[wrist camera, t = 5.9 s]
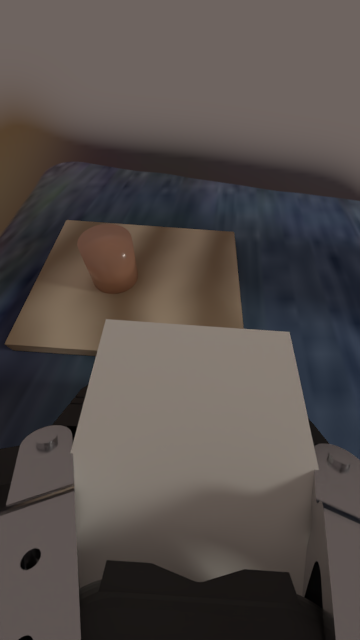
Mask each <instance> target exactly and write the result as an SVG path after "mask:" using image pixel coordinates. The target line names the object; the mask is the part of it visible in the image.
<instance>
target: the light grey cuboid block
mask: <svg viewBox="0 0 360 640" xmlns="http://www.w3.org/2000/svg"><path fill="white" fill-rule="evenodd" d="M70 453H73V462H74V483H75V505H76V525H77V545H78V566H79V587H80V588H81V587H83V586H85V585H88V584H90V583H92V582H95V581H98V580H101V579H102V576H103V572H104V568H105V564H106V561H107V560H113V561H128V562H143V563H153V564H155V565H157V566H160V567H162V568H164V569H167V570H169V571H171V572H174V573H176V574H179V575H181V576H183V577H186V578H188V579H190V580H193V581H196V582H204V581H207V580H211V579H214V578H217V577H220V576H224V575H227V574H230V573H234V572H237V571H240V570H243V569H248V570H263V571H278V572H289V574H290V577H291V579H292V582H293V585H294V588H295V591H296V594H298V595H301V596H302V592H303V582H304V571H305V561H306V550H307V544H308V540H309V537H310V531H311V521H312V511H311V497H312V486H313V476H314V470H319V468H318V463H317V458H316V454H315V449H314V444H313V440H312V435H311V430H310V426H309V421H308V416H307V412H306V407H305V402H304V398H303V393H302V388H301V384H300V379H299V374H298V370H297V365H296V360H295V356H294V351H293V346H292V342H291V337H290V332H281V331H267V330H253V329H239V328H224V327H210V326H196V325H182V324H168V323H154V322H140V321H125V320H111V319H106V321H105V324H104V328H103V332H102V336H101V339H100V343H99V347H98V351H97V354H96V358H95V362H94V366H93V370H92V373H91V377H90V381H89V385H88V388H87V392H86V396H85V400H84V403H83V407H82V411H81V415H80V419H79V422H78V426H77V430H76V434H75V437H74V441H73V445H72V449H71V452H70Z"/></svg>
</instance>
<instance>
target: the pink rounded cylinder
mask: <svg viewBox="0 0 360 640" xmlns="http://www.w3.org/2000/svg"><path fill="white" fill-rule="evenodd" d="M77 246H78V249H79V252H80V254H81V256H82V258H83V261H84V263H85V265H86V268H87V270H88V272H89V274H90V277H91V279H92V281H93V284H94V285H95V287H96V288H97V289H98V290H100V291H102V292H104V293H108V294H118V293H122V292H125V291H127V290H129V289H130V288H131V287H133V286H134V284H135V283H136V281H137V279H138V271H137V265H136V259H135V253H134V247H133V242H132V236H131V234H130V233H129V231H128V230H127V229H125V228H124V227H122V226H119V225H115V224H100V225H96V226H93V227H91V228H89V229H87V230H86V231H84V232H83V233H82V234H81V236H80V237H79V239H78V242H77Z"/></svg>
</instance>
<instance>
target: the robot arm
mask: <svg viewBox="0 0 360 640" xmlns="http://www.w3.org/2000/svg"><path fill="white" fill-rule="evenodd" d="M87 388H88V385H87V386H86V387H84V388H82V389H81V390H80V392H79V393H78V394H77V395H76V397H75V398H74V399H73V400H72V401H71V403H70V404H69V405H68V406H67V408H66V409H65V410H64V411H63V413H62V414H61V415H60V416H59V418H58V419H57V420H56V421H55V422H54V424H53V425H52V426H47V427H44V428H41V429H39V430H36V431H34V432H33V433H31V434H30V435H28V436H27V437H26V438H25V439H24V440H23V441H22V443H21V445H20V446H16V447H10V448H4V449H0V640H360V460H358V459H357V458H356V457H355V456H354V455H352V454H351V453H349V452H348V451H346V450H344V449H342V448H340V447H337V446H335V445H331V444H329V443H328V442H327V440H326V439H325V438H324V437H323V436H322V434H321V433H320V432H319V431H318V429H317V428H316V427H315V426H314V424H313V423H312V422H311V421H310V419H309V418H308V421H309V426H310V430H311V435H312V440H313V444H314V449H315V454H316V458H317V463H318V468H319V470H314V476H313V486H312V497H311V511H312V521H311V531H310V537H309V540H308V544H307V550H306V561H305V571H304V582H303V592H302V596H301V595H298V594H296V591H295V588H294V585H293V582H292V579H291V577H290V574H289V572H278V571H263V570H248V569H243V570H240V571H237V572H234V573H230V574H227V575H224V576H220V577H217V578H214V579H211V580H207V581H204V582H196V581H193V580H190V579H188V578H186V577H183V576H181V575H179V574H176V573H174V572H171V571H169V570H167V569H164V568H162V567H160V566H157V565H155V564H153V563H143V562H128V561H113V560H107V561H106V564H105V568H104V572H103V576H102V579H101V580H98V581H95V582H92V583H90V584H88V585H85V586H83V587H81V588H80V587H79V566H78V545H77V525H76V505H75V483H74V462H73V453H70V452H71V449H72V445H73V441H74V437H75V434H76V430H77V426H78V422H79V419H80V415H81V411H82V407H83V403H84V400H85V396H86V392H87Z"/></svg>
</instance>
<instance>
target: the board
mask: <svg viewBox="0 0 360 640" xmlns="http://www.w3.org/2000/svg"><path fill="white" fill-rule="evenodd" d="M100 224H115V223H101V222H87V221H73V220H66V222H65V224H64V226H63V228H62V230H61V232H60V234H59V236H58V238H57V240H56V242H55V244H54V246H53V248H52V250H51V252H50V254H49V256H48V258H47V260H46V262H45V264H44V266H43V268H42V270H41V272H40V274H39V276H38V278H37V280H36V282H35V284H34V286H33V288H32V290H31V292H30V294H29V296H28V298H27V300H26V302H25V304H24V306H23V308H22V310H21V312H20V314H19V316H18V318H17V320H16V322H15V324H14V326H13V328H12V330H11V332H10V334H9V336H8V338H7V340H6V342H5V345H6V346H8V347H9V348H11V349H12V350H16V351H31V352H45V353H60V354H74V355H88V356H96V354H97V351H98V347H99V343H100V339H101V336H102V332H103V328H104V324H105V321H106V319H111V320H125V321H140V322H154V323H168V324H182V325H196V326H210V327H224V328H239V329H243V319H242V308H241V298H240V288H239V277H238V267H237V257H236V247H235V236H234V232H227V231H213V230H199V229H185V228H171V227H157V226H143V225H129V224H115V225H119V226H122V227H124V228H125V229H127V230H128V231H129V233H130V234H131V236H132V242H133V247H134V253H135V259H136V265H137V271H138V279H137V281H136V283H135V284H134V286H133V287H131V288H130V289H129V290H127V291H125V292H122V293H118V294H108V293H104V292H102V291H100V290H98V289H97V288H96V287H95V285H94V284H93V281H92V279H91V277H90V274H89V272H88V270H87V268H86V265H85V263H84V261H83V258H82V256H81V254H80V252H79V249H78V246H77V242H78V239H79V237H80V236H81V234H82V233H83V232H84V231H86V230H87V229H89V228H91V227H93V226H96V225H100Z"/></svg>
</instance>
